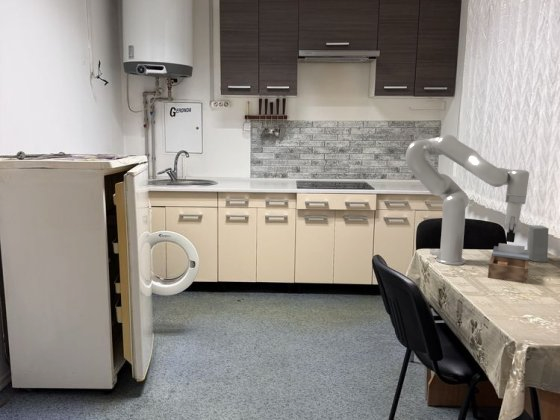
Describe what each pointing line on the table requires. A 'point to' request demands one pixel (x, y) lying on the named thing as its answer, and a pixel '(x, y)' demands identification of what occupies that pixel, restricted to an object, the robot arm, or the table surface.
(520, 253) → the cover
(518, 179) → the robot arm
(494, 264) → the box
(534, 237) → the skincare box
